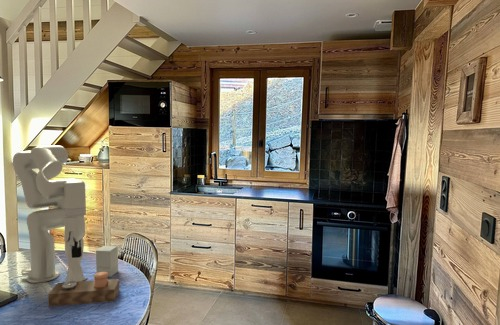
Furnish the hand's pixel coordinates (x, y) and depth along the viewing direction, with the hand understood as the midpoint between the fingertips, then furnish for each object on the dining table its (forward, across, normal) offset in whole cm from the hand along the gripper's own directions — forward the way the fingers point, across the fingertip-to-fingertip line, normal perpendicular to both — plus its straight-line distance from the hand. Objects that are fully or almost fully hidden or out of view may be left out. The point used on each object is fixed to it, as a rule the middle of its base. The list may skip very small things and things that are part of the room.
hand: (76, 256), depth 131 cm
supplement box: (+18, -25, +5) cm, 31 cm away
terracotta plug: (+14, -1, +9) cm, 17 cm away
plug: (+17, 0, -3) cm, 18 cm away
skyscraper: (+17, -17, -7) cm, 25 cm away
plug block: (+18, 0, +3) cm, 18 cm away
